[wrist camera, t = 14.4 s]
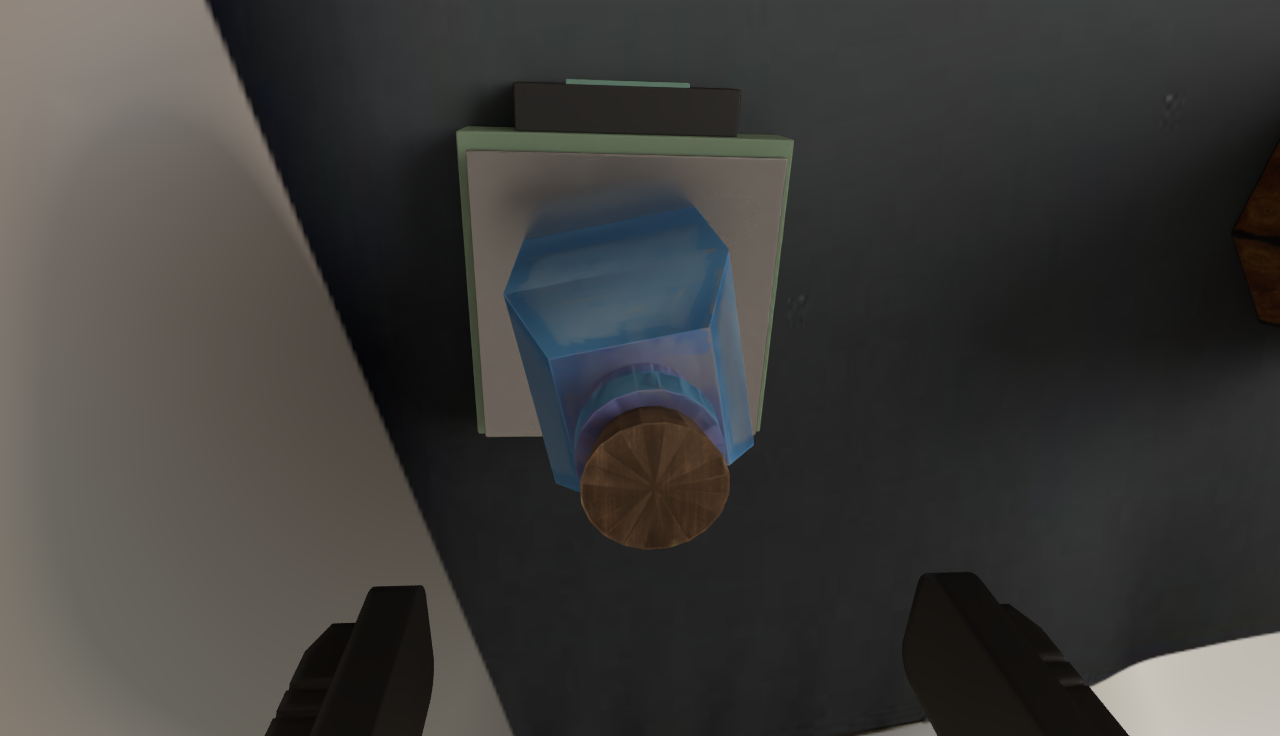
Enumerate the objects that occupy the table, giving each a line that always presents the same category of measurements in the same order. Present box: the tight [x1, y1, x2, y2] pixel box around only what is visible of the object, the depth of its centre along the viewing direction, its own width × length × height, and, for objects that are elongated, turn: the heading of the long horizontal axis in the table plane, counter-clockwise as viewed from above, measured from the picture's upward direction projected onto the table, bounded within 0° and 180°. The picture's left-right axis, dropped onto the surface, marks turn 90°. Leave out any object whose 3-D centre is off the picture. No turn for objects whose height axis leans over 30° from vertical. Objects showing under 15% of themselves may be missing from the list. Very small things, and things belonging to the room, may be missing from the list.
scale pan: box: [466, 148, 787, 437], centre depth 26 cm, size 11×11×1 cm
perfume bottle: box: [503, 207, 754, 550], centre depth 20 cm, size 6×6×12 cm
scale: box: [456, 79, 794, 433], centre depth 27 cm, size 12×14×2 cm
